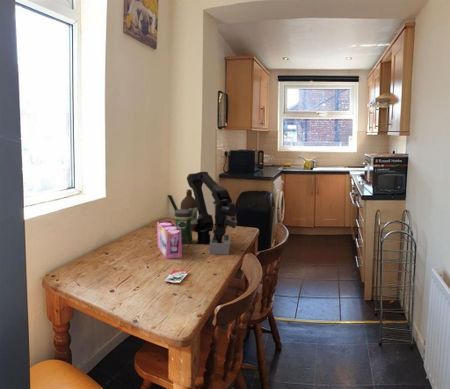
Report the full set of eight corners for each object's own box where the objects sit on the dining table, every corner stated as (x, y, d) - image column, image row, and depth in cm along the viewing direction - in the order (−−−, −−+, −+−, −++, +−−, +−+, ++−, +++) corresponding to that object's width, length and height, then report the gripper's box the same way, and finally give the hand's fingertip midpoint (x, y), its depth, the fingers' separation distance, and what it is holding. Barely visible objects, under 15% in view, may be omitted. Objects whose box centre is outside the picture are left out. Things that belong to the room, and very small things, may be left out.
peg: (223, 250, 220) (223, 233, 219) (216, 250, 220) (217, 233, 219) (224, 248, 223) (224, 231, 222) (217, 248, 224) (217, 231, 222)
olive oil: (177, 229, 263) (176, 189, 259) (190, 226, 270) (190, 188, 266) (187, 232, 255) (187, 191, 251) (201, 229, 262) (201, 189, 258)
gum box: (182, 258, 206) (182, 231, 204) (166, 259, 203) (166, 232, 201) (171, 245, 228) (171, 220, 226) (157, 246, 225) (156, 221, 223)
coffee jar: (193, 240, 237) (193, 208, 234) (190, 244, 229) (190, 211, 226) (176, 240, 238) (176, 207, 235) (173, 243, 231) (172, 210, 228)
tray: (209, 253, 213) (209, 243, 212) (212, 244, 231) (212, 234, 230) (228, 254, 213) (228, 243, 212) (230, 244, 230) (230, 234, 229)
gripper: (235, 217, 209) (235, 248, 212) (236, 210, 227) (236, 238, 230) (213, 217, 210) (212, 247, 212) (216, 209, 228) (216, 237, 231)
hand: (220, 242), depth 221 cm, fingers open, 9 cm apart
